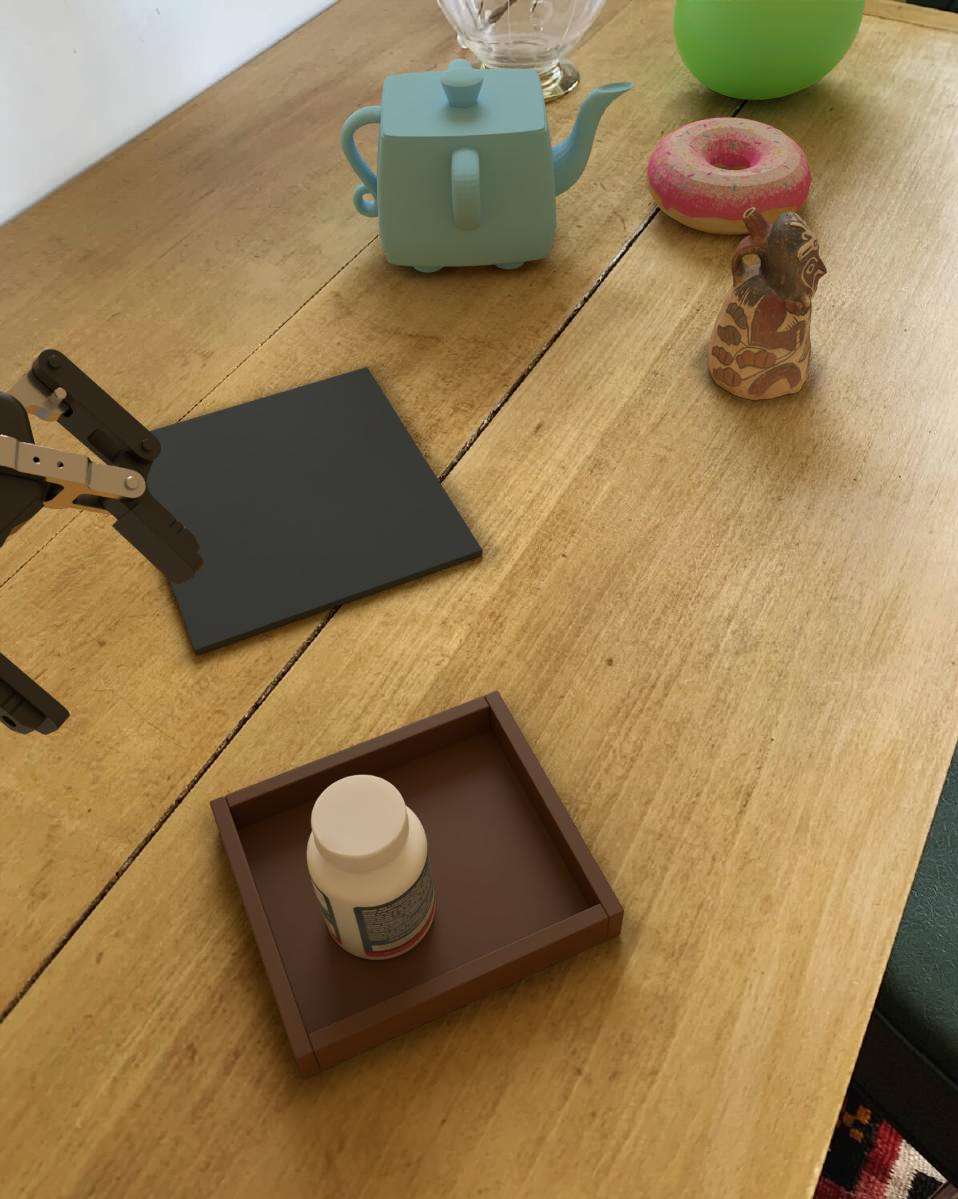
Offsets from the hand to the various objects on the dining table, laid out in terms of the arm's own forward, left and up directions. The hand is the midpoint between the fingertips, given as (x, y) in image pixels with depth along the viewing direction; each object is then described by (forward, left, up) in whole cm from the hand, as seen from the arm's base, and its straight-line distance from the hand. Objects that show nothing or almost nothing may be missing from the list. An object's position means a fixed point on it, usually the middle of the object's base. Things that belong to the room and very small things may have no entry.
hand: (129, 645), depth 45 cm
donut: (+55, +39, -15) cm, 69 cm away
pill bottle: (+6, -8, -15) cm, 18 cm away
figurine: (+45, +19, -15) cm, 52 cm away
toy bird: (+69, +56, -15) cm, 90 cm away
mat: (+11, +21, -15) cm, 28 cm away
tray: (+8, -7, -15) cm, 18 cm away
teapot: (+35, +43, -15) cm, 58 cm away
